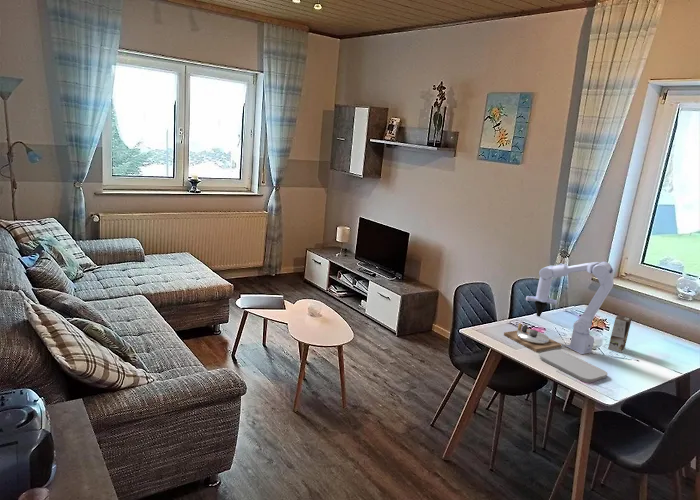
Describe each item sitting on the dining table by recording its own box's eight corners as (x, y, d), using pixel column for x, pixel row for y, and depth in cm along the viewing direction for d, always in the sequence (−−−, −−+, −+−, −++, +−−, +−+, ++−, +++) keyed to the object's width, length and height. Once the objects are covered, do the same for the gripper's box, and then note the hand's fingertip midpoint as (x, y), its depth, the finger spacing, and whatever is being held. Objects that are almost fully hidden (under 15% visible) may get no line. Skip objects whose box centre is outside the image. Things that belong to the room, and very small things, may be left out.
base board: (560, 347, 244) (563, 336, 243) (535, 351, 236) (537, 341, 234) (528, 331, 261) (530, 321, 260) (503, 335, 252) (505, 324, 251)
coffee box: (621, 353, 245) (629, 322, 241) (607, 348, 249) (614, 318, 245) (625, 348, 252) (632, 317, 248) (611, 343, 256) (618, 314, 252)
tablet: (557, 353, 238) (558, 348, 237) (609, 378, 217) (610, 373, 216) (535, 358, 229) (536, 353, 229) (586, 385, 208) (587, 380, 208)
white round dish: (541, 333, 255) (543, 325, 254) (553, 345, 241) (555, 336, 240) (512, 330, 255) (514, 322, 254) (522, 342, 240) (524, 334, 239)
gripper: (529, 290, 249) (524, 316, 252) (560, 294, 247) (555, 320, 250) (527, 286, 255) (522, 311, 259) (556, 290, 254) (551, 315, 257)
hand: (538, 315), depth 255 cm, fingers closed
